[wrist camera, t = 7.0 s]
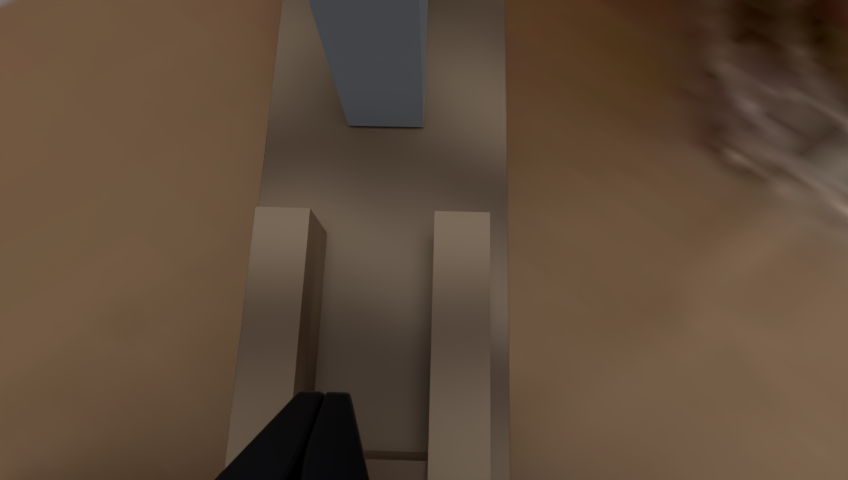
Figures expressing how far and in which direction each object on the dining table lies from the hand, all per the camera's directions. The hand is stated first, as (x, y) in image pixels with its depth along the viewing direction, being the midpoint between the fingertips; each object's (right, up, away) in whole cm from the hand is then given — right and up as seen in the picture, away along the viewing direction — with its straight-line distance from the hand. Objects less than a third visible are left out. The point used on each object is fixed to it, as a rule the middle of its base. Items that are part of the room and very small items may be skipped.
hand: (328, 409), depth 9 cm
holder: (0, +5, +10) cm, 11 cm away
